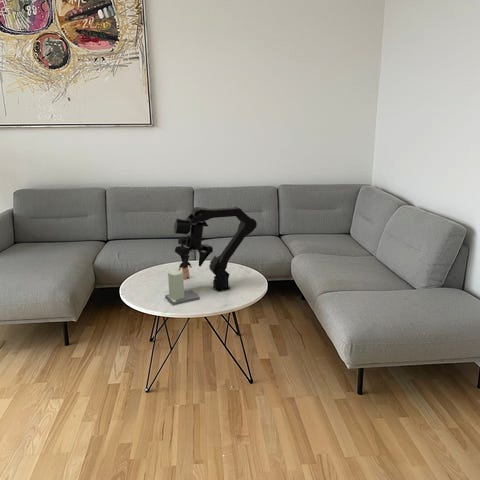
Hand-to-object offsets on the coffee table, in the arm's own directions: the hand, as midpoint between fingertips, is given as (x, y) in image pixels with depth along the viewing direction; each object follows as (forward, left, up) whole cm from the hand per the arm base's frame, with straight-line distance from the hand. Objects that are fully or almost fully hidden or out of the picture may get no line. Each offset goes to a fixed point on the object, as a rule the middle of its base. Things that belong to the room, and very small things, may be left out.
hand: (192, 267), depth 208 cm
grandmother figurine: (-4, -20, -13) cm, 24 cm away
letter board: (+7, +4, -13) cm, 15 cm away
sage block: (+10, +5, -11) cm, 16 cm away
